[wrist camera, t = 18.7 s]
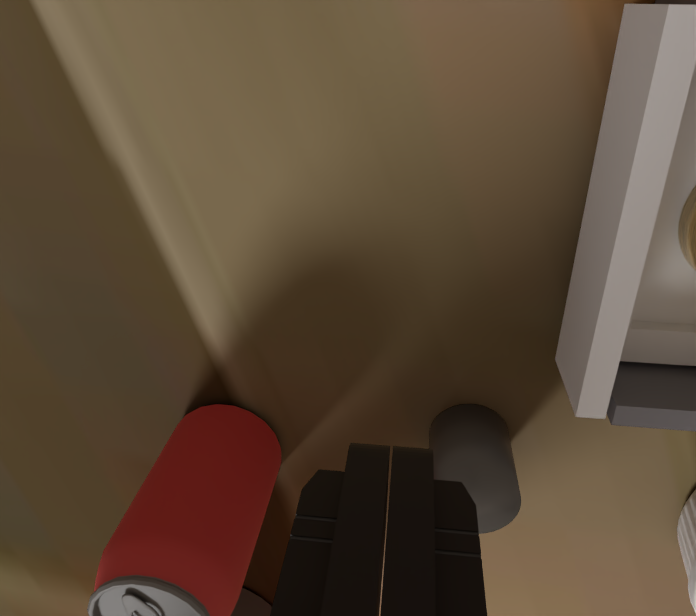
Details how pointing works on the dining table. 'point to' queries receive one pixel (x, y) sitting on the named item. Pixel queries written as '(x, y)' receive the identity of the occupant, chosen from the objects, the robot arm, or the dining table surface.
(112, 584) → the beer can
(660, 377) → the housing
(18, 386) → the dining table surface
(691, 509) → the ramekin
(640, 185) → the tray
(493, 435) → the cylinder
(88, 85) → the dining table surface
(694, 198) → the disc
